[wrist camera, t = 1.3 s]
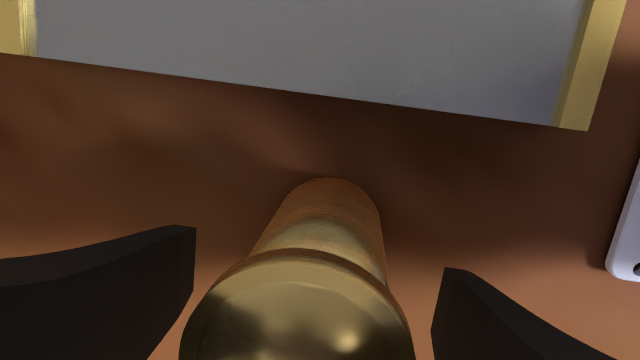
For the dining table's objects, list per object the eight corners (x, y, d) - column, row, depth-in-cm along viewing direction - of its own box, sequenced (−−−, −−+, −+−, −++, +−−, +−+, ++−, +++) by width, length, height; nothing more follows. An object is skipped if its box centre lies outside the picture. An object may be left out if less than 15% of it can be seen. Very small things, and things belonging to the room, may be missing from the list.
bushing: (398, 179, 15) (441, 289, 7) (378, 290, 16) (394, 492, 8) (275, 160, 15) (183, 247, 7) (264, 271, 16) (174, 449, 8)
